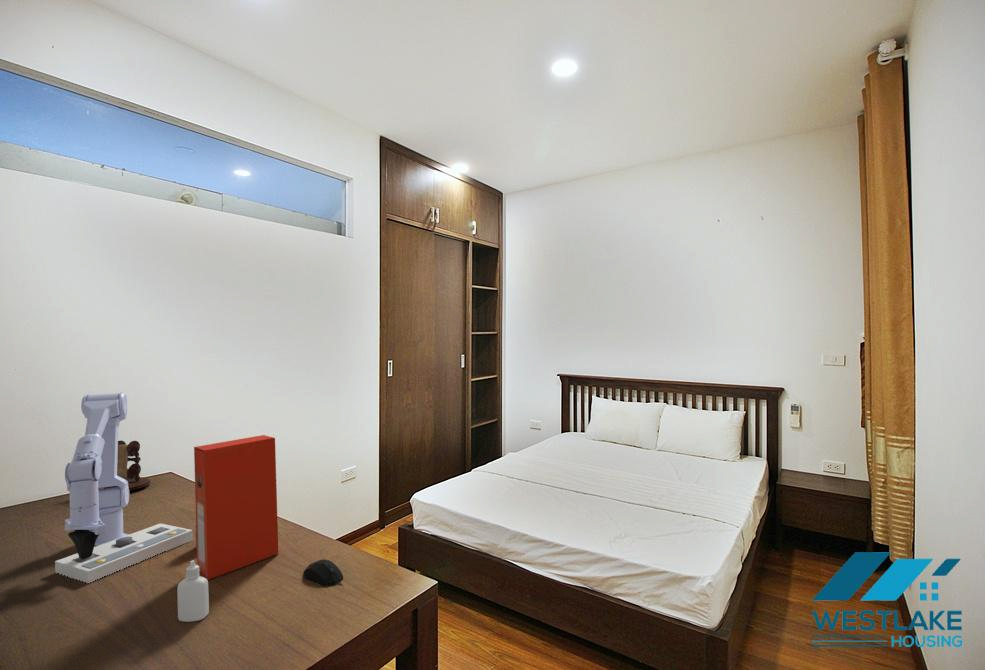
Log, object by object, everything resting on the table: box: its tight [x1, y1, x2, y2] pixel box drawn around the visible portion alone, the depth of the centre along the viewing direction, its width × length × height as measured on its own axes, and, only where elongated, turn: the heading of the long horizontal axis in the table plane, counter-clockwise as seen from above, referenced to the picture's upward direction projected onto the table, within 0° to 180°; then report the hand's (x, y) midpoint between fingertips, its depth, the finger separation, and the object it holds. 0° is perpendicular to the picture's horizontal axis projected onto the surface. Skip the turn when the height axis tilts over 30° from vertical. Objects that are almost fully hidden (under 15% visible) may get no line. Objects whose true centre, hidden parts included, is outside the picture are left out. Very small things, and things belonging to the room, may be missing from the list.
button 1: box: [77, 554, 95, 563], centre depth 122 cm, size 4×4×2 cm
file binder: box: [193, 434, 279, 580], centre depth 124 cm, size 8×17×32 cm, turn 139°
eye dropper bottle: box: [176, 560, 210, 623], centre depth 99 cm, size 4×6×12 cm
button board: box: [54, 523, 194, 584], centre depth 130 cm, size 15×26×3 cm, turn 157°
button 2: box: [151, 528, 165, 535], centre depth 139 cm, size 4×4×2 cm
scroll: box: [103, 440, 151, 491], centre depth 189 cm, size 15×15×20 cm
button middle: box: [116, 536, 132, 548], centre depth 131 cm, size 4×4×2 cm
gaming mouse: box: [302, 559, 344, 587], centre depth 115 cm, size 6×15×4 cm, turn 54°
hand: (85, 557), depth 122 cm, fingers closed
